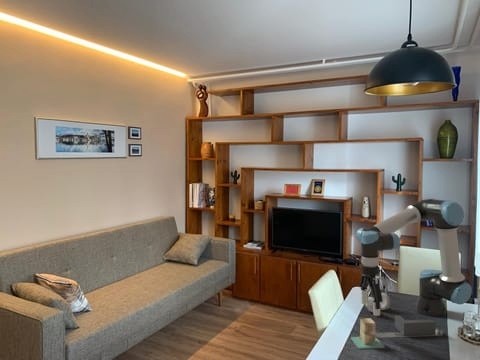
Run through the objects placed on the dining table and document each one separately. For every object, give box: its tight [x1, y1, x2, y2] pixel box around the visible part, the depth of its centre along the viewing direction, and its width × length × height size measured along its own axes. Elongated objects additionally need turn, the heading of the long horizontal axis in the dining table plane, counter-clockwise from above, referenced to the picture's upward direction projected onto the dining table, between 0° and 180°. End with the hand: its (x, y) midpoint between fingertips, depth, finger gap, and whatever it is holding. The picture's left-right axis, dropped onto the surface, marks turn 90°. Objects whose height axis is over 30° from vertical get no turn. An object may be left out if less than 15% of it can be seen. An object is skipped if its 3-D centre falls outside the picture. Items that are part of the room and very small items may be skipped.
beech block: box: [359, 317, 376, 345], centre depth 175 cm, size 5×5×10 cm
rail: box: [375, 325, 444, 339], centre depth 183 cm, size 35×4×2 cm, turn 94°
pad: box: [350, 336, 385, 350], centre depth 175 cm, size 12×10×1 cm
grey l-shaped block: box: [394, 314, 437, 335], centre depth 186 cm, size 16×9×6 cm, turn 94°
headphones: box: [364, 275, 392, 314], centre depth 210 cm, size 19×9×20 cm, turn 127°
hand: (370, 309), depth 177 cm, fingers open, 13 cm apart
